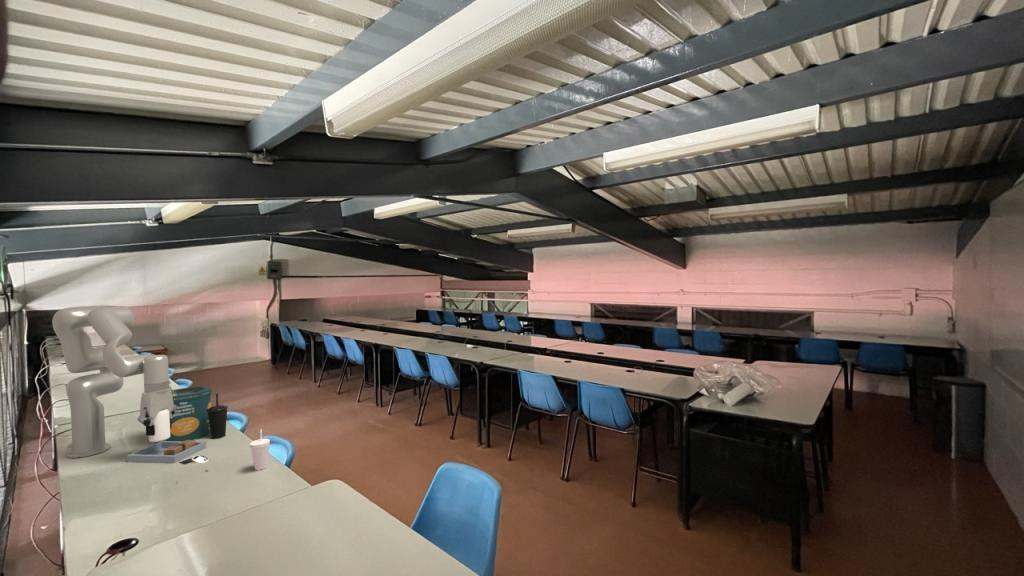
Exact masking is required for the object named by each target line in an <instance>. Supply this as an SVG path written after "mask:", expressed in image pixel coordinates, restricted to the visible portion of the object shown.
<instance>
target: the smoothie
mask: <svg viewBox="0 0 1024 576" xmlns="http://www.w3.org/2000/svg"><path fill="white" fill-rule="evenodd" d="M259 437H260V438H259V439H256V440H253V441H251V442H250V443H249V448H250V449H251V450H250V451H251V456H252V460H253V466H254V470H255V471H262V470H261V469H263V470H265V469H266V467H268V459H269V449H270V447H269V446H270V443H271V440H270V439H269V438H263V429H262V428H261V429H259ZM264 468H265V469H264Z"/></svg>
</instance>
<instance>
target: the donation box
mask: <svg viewBox="0 0 1024 576" xmlns="http://www.w3.org/2000/svg"><path fill="white" fill-rule="evenodd" d="M169 388H171V391H172V396H173V404H175V405H176V406H178V408H177V409H176V411H175V413H174V414H173V418H172V419H171V423H172V428H171V429H170V437H169V439H167V440H165V441H182V442H183V441H186V440H199V439H203V438H205V437H207V436H209V435H211V431H210V424H209V418H208V412H207V409H209V408H210V407H212V403H211V402H212V401H211V400H212V399H211V398H212V397H211V395H212V388H211V387H210V386H209V385H196V386H191V387H190V386H188V387H183V388H177V389H172V386H171V385H169Z"/></svg>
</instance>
